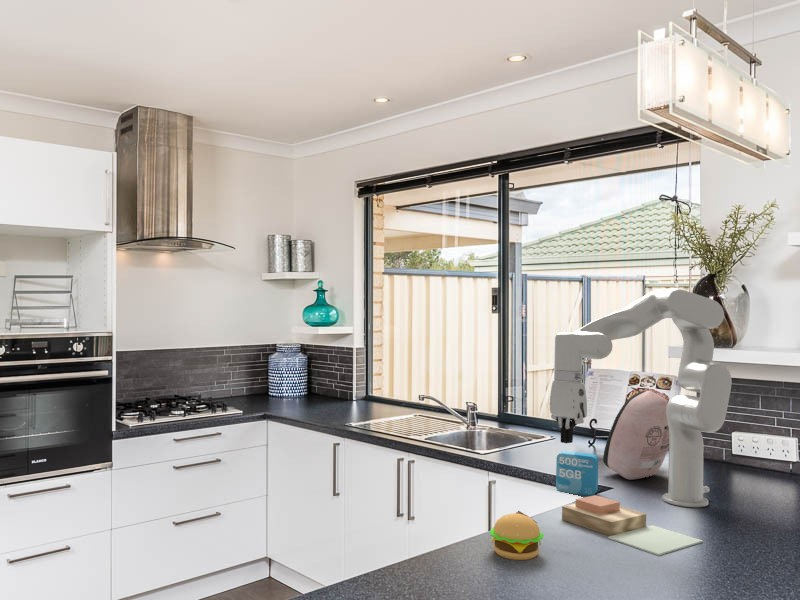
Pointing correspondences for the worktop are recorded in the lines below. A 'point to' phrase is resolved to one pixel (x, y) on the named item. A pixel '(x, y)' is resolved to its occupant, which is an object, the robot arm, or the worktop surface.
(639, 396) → the pink rounded piece
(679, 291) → the robot arm
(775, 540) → the worktop surface
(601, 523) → the oak board
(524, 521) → the hamburger
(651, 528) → the sage mat
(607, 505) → the terracotta coaster
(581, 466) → the data package
